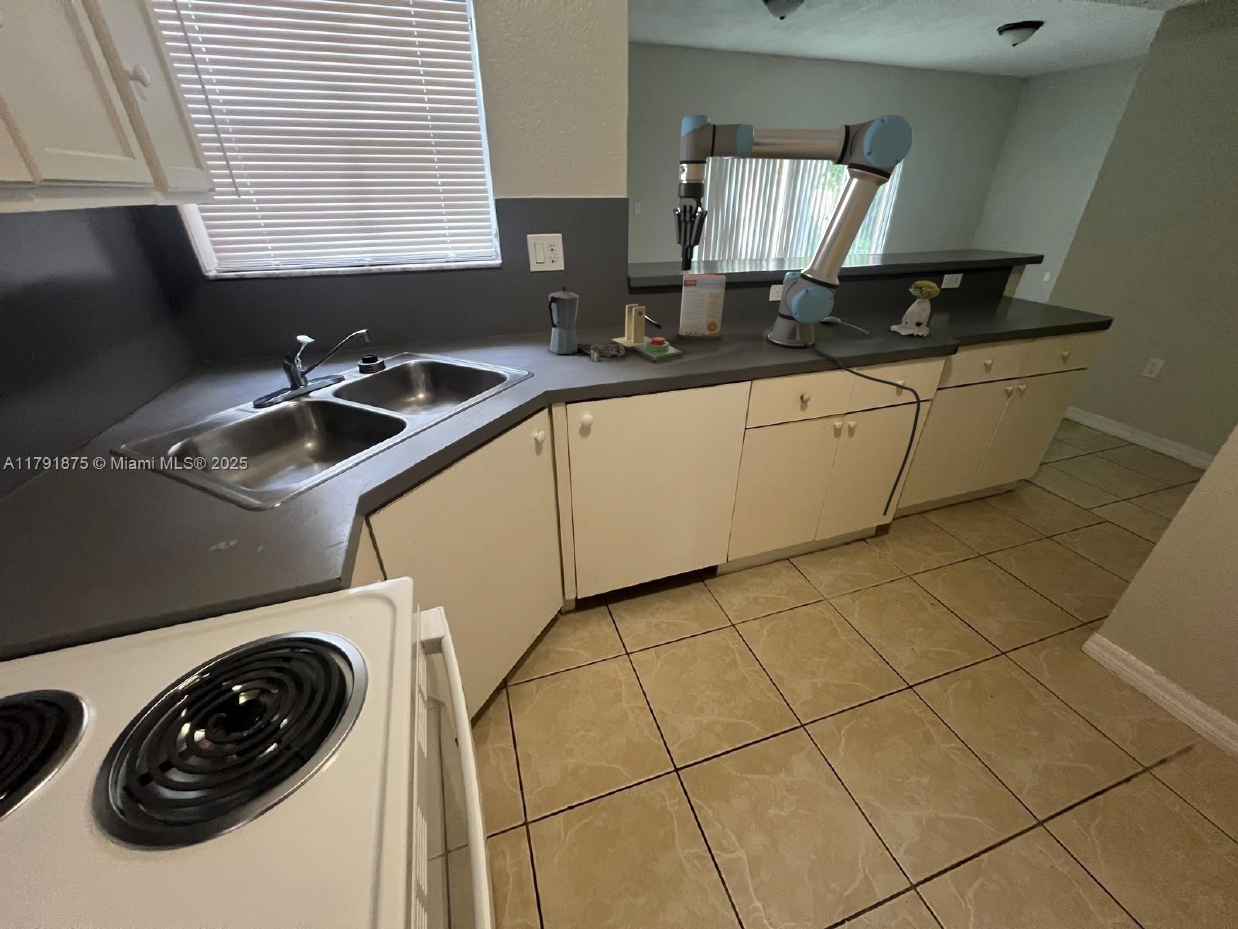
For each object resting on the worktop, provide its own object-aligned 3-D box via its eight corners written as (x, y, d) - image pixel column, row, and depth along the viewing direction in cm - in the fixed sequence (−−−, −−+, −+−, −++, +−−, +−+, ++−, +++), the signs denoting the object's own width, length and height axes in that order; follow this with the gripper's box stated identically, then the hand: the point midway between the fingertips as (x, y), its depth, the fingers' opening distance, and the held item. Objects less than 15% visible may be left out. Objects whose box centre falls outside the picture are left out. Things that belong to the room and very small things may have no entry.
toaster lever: (650, 327, 168) (653, 320, 167) (659, 330, 164) (662, 324, 164) (626, 311, 159) (630, 304, 159) (635, 314, 156) (638, 307, 155)
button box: (681, 358, 153) (682, 345, 151) (655, 363, 148) (656, 350, 146) (658, 347, 161) (659, 336, 159) (633, 352, 157) (634, 340, 155)
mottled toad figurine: (590, 361, 148) (590, 348, 146) (590, 354, 155) (589, 341, 153) (625, 361, 149) (625, 348, 147) (623, 353, 155) (623, 341, 153)
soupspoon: (828, 322, 197) (816, 324, 195) (830, 313, 196) (817, 315, 193) (873, 334, 180) (860, 336, 177) (875, 325, 178) (862, 327, 176)
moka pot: (586, 346, 161) (585, 283, 151) (567, 360, 149) (565, 292, 138) (560, 343, 164) (558, 281, 154) (539, 356, 151) (535, 290, 141)
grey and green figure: (908, 326, 191) (924, 277, 181) (936, 335, 180) (954, 283, 171) (884, 328, 187) (899, 278, 178) (911, 337, 177) (928, 284, 168)
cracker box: (717, 335, 175) (725, 274, 164) (719, 340, 170) (726, 277, 159) (678, 334, 176) (683, 273, 165) (678, 338, 171) (684, 276, 160)
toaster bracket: (640, 338, 170) (642, 300, 164) (657, 345, 163) (659, 307, 157) (611, 343, 165) (611, 304, 158) (627, 351, 158) (628, 311, 151)
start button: (666, 344, 152) (667, 339, 151) (656, 346, 150) (656, 341, 150) (659, 341, 155) (659, 336, 154) (649, 343, 153) (649, 337, 152)
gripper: (667, 181, 141) (663, 268, 153) (697, 182, 132) (690, 274, 144) (686, 181, 144) (681, 266, 156) (717, 181, 135) (709, 271, 147)
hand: (686, 270), depth 150 cm, fingers closed
